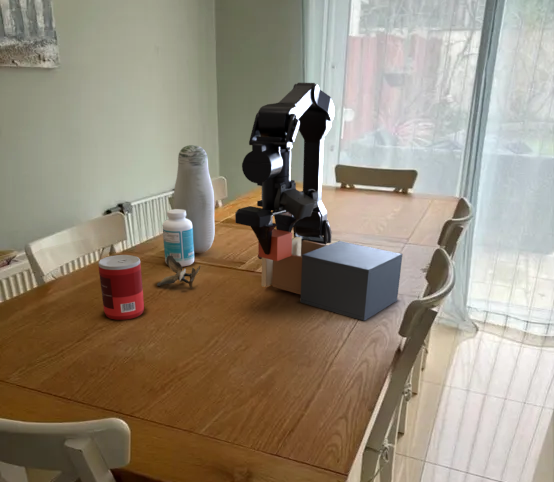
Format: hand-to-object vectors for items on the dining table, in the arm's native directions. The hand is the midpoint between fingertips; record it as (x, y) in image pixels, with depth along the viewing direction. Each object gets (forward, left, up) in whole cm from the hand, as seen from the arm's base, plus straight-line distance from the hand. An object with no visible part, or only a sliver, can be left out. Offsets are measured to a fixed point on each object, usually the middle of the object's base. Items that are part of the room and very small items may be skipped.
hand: (275, 251), depth 115 cm
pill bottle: (-34, +4, -11) cm, 36 cm away
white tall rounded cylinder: (-38, +14, -11) cm, 42 cm away
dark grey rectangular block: (+13, +9, -11) cm, 19 cm away
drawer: (-1, +9, -10) cm, 14 cm away
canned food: (-18, -26, -11) cm, 33 cm away
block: (0, 0, -1) cm, 1 cm away
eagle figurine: (-22, -8, -11) cm, 26 cm away
